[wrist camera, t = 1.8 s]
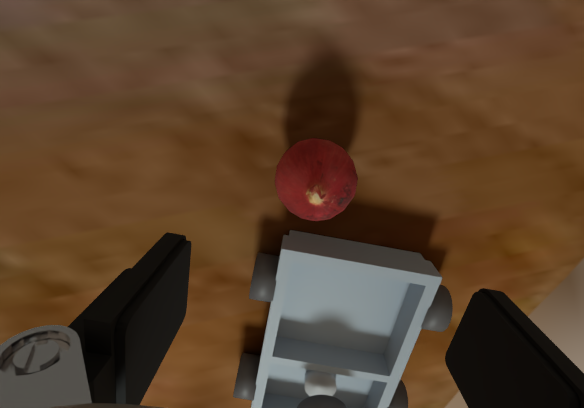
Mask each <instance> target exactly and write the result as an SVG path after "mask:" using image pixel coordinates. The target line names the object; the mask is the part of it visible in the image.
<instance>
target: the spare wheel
mask: <svg viewBox="0 0 584 408" xmlns="http://www.w3.org/2000/svg"><path fill="white" fill-rule="evenodd" d="M297 408H347V407H346V405H345V404H344V403H343V402H342V401H341V400H339V399H338V398H336V397H333V396H329V395H313V396H310V397H307V398H306V399H304V400H302V401H301V402H300V403H299V405H298V406H297Z"/></svg>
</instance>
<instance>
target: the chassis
mask: <svg viewBox="0 0 584 408" xmlns="http://www.w3.org/2000/svg"><path fill="white" fill-rule="evenodd" d="M441 280H442V276H441V275H440V274H439V272H438V271H437V269H436V268H435V267H434V265H433V264H432V262H431V261H427V260H425V259H424V258H423V257H422V255H421V254H420V253H416V252H411V251H405V250H399V249H394V248H388V247H383V246H377V245H372V244H366V243H361V242H355V241H350V240H344V239H338V238H333V237H327V236H322V235H316V234H311V233H305V232H300V231H294V230H290V232H289V236H288V235H283V240H282V245H281V251H280V256H275V255H270V254H264V253H259V252H258V254H257V258H256V262H255V267H254V271H253V276H252V282H251V288H250V294H249V299H254V300H260V301H266V302H271V303H270V309H269V314H268V319H267V324H266V330H265V335H264V340H263V346H262V351H261V356H259V355H253V354H247V353H242V356H241V360H240V364H239V369H238V373H237V378H236V384H235V389H234V395H233V397H235V398H241V399H247V400H252V404H251V408H297V406H298V405H299V403H300V402H301V401H302V400H304V399H306V398H307V397H310V396H313V395H329V396H333V397H336V398H338V399H339V400H341V401H342V402H343V403H344V404H345V405H346V407H347V408H408V397H407V391H406V388H405V385H404V383H403V382H402V380H400V378H401V376H402V373H403V371H404V369H405V366H406V364H407V361H408V359H409V357H410V354H411V352H412V349H413V347H414V345H415V342H416V340H417V337H418V335H419V333H420V330H421V329H427V330H433V331H439V332H442V331H444V330H445V329H446V328H447V327H448V325H449V323H450V321H451V317H452V299H451V296H450V293H449V291H448V289H447V288H446V287H445V286H443V285H440V282H441Z"/></svg>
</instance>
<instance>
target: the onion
mask: <svg viewBox="0 0 584 408" xmlns="http://www.w3.org/2000/svg"><path fill="white" fill-rule="evenodd" d="M357 180H358V177H357V174H356V170H355V166H354V163H353V160H352V159H351V158H350V156H349V155H348V154H347V152H346V151H345V150H344V149H343V148H342V147H341V146H339V145H337V144H335V143H333V142H332V141H330V140H324V139H317V138H311V139H307V140H303V141H299V142H297V143H296V144H295V145H293V146H292V147H291V148H289V149H288V150H287V151H286V152H285V153H284V155H283V156H282V158H281V160H280V162H279V163H278V165H277V170H276V177H275V185H276V189H277V193H278V196H279V199H280V200H281V201H282V203H283V204H284V205H285V206H286V208H287V209H288V210H289V211H290V212H291V213H293V214H295V215H297V216H298V217H300V218H302V219H307V220H312V221H319V220H326V219H331V218H332V217H334V216H336V215H337V214H339V213H340V212H342V211H344V210H345V208H346V207H347V205H348V204H349V203H350V201H351V200H352V199H353V197H354V196H355V191H356V186H357Z"/></svg>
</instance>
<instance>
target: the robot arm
mask: <svg viewBox="0 0 584 408" xmlns="http://www.w3.org/2000/svg"><path fill="white" fill-rule="evenodd" d="M190 255H191V241H187V240H186V237H185V236H184V235H179V234H173V233H166V234H164V236H163V237H162V238H161V239H160V240H159V241H158V242H157V243H156V244H155V245H154V246H153V247H152V248H151V249H150V250H149V251H148V252H147V253H146V254H145V255H144V256H143V257H142V258H141V259H140V260H139V261H138V262H137V264H136V265H135V266H134V267H133V268H132V269H131V268H128V269H126V270H124V271H123V272H122V273H121V274H120V275H119V276H118V277H117V278H116V279H115V280H114V281H113V282H112V283H111V284H110V285H109V286H108V287H107V288H106V289H105V290H104V291H103V292H102V293H101V294H100V295H99V296H98V297H97V298H96V299H95V300H94V301H93V302H92V303H91V304H90V305H89V306H88V307H87V308H86V309H85V310H84V311H83V312H82V313H81V314H80V315H79V316H78V317H77V318H76V319H75V320H74V321H73V322H72V323H71V324H70V325H69V326H68V327H65V326H61V325H47V326H42V327H36V328H33V329H30V330H27V331H24V332H21V333H19V334H18V335H16V336H14V337H12V338H10V339H8V340H7V341H6V342H4V343H3V344H2V345H0V408H162V407H153V406H142V405H140V403H141V401H142V399H143V397H144V395H145V393H146V391H147V389H148V387H149V385H150V383H151V382H152V380H153V378H154V376H155V374H156V372H157V370H158V368H159V366H160V364H161V362H162V360H163V359H164V357H165V355H166V353H167V351H168V349H169V347H170V345H171V343H172V341H173V339H174V337H175V336H176V334H177V332H178V330H179V328H180V326H181V324H182V322H183V320H184V317H185V314H186V308H187V295H188V282H189V268H190ZM445 361H446V365H447V367H448V369H449V371H450V373H451V375H452V377H453V379H454V381H455V383H456V384H457V386H458V388H459V390H460V392H461V394H462V396H463V398H464V400H465V402H466V404H467V406H468V408H584V373H583V372H582V371H581V370H580V369H579V368H578V367H577V366H576V365H575V364H574V363H573V362H572V361H571V360H570V359H569V358H568V357H567V356H566V355H565V354H564V353H563V352H562V351H561V350H560V349H559V348H558V347H557V346H556V345H555V344H554V343H553V342H552V341H551V340H550V339H549V338H548V337H547V336H546V335H545V334H544V333H543V332H542V331H541V330H540V329H539V328H538V327H537V326H536V325H535V324H534V323H533V322H532V321H531V320H530V319H529V318H528V317H527V316H526V315H525V314H524V313H523V312H522V311H521V310H520V309H519V308H518V307H517V306H516V305H515V304H514V303H513V302H512V301H511V300H510V299H509V298H508V297H507V296H506V295H505V294H504V293H503V292H501V291H495V290H490V289H484V288H483V289H480V290H479V291H478V292H475V293H474V294H473V296H472V298H471V300H470V302H469V304H468V306H467V309H466V311H465V313H464V315H463V317H462V319H461V322H460V324H459V326H458V328H457V330H456V333H455V335H454V337H453V339H452V341H451V344H450V346H449V348H448V350H447V352H446V356H445Z"/></svg>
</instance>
